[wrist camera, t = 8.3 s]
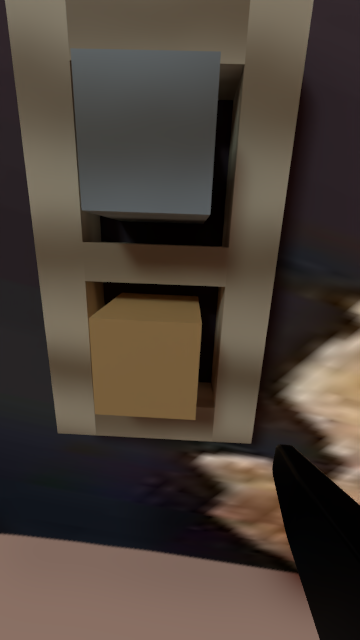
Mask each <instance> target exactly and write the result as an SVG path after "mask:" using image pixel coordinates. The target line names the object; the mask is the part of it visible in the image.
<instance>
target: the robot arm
mask: <svg viewBox="0 0 360 640" xmlns="http://www.w3.org/2000/svg"><path fill="white" fill-rule="evenodd" d="M272 470H273V477H274V482H275V486H276V491H277V495H278V500H279V504H280V509H281V513H282V518H283V522H284V527H285V531H286V535H287V538H288V542H289V545H290V548H291V551H292V555H293V558H294V561H295V564H296V567H297V570H298V573H299V576H300V579H301V582H302V585H303V588H304V592H305V595H306V598H307V601H308V604H309V607H310V610H311V613H312V616H313V620H314V623H315V626H316V629H317V632H318V635H319V638H320V640H360V505H359V504H358V503H357V502H356V501H354V500H353V499H352V498H351V497H350V496H349V495H348V494H346V493H345V492H344V491H343V490H342V489H341V488H340V487H338V486H337V485H336V484H335V483H334V482H333V481H332V480H331V479H329V478H328V477H327V476H326V475H325V474H324V473H323V472H321V471H320V470H319V469H318V468H317V467H316V466H315V465H314V464H312V463H311V462H310V461H309V460H308V459H307V458H306V457H304V456H303V455H302V454H301V453H300V452H299V451H298V450H296V449H295V448H294V447H293V446H291V445H277V447H276V450H275V456H274V461H273V469H272Z"/></svg>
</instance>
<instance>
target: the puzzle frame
mask: <svg viewBox="0 0 360 640" xmlns="http://www.w3.org/2000/svg"><path fill="white" fill-rule="evenodd" d="M313 1H314V0H5V3H6V11H7V19H8V27H9V36H10V44H11V52H12V60H13V68H14V77H15V85H16V93H17V101H18V109H19V118H20V126H21V134H22V142H23V151H24V159H25V167H26V175H27V183H28V192H29V200H30V208H31V216H32V224H33V233H34V241H35V249H36V257H37V265H38V274H39V282H40V290H41V298H42V306H43V315H44V323H45V331H46V339H47V347H48V356H49V364H50V372H51V380H52V389H53V397H54V405H55V413H56V421H57V430H58V433H65V434H83V435H101V436H120V437H138V438H156V439H175V440H193V441H211V442H230V443H248V444H251V441H252V434H253V427H254V420H255V412H256V405H257V398H258V391H259V384H260V377H261V370H262V363H263V356H264V349H265V341H266V334H267V327H268V320H269V313H270V306H271V299H272V292H273V285H274V278H275V270H276V263H277V256H278V249H279V242H280V235H281V228H282V221H283V214H284V206H285V199H286V192H287V185H288V178H289V171H290V164H291V157H292V150H293V143H294V135H295V128H296V121H297V114H298V107H299V100H300V93H301V86H302V79H303V72H304V64H305V57H306V50H307V43H308V36H309V29H310V22H311V15H312V8H313ZM218 100H233V111H232V124H231V137H230V149H229V162H228V174H227V187H226V200H225V212H224V225H223V238H222V246H198V245H171V244H145V243H118V242H101V227H100V216H104V217H107V218H111V219H114V220H118V221H129V222H157V223H185V224H203V223H204V222H205V221H206V220H207V218H208V217H209V216H210V213H211V197H212V182H213V167H214V151H215V136H216V120H217V105H218ZM103 282H121V283H145V284H169V285H194V286H218V287H219V288H218V301H217V313H216V326H215V338H214V351H213V364H212V376H211V383H207V382H198V388H197V403H196V417H195V420H185V419H168V418H151V417H133V416H116V415H99V414H95V408H94V392H93V376H92V360H91V344H90V328H89V318H90V317H91V316H92V315H93V314H95V313H96V312H97V311H99V310H100V309H101V308H103V307H104V286H103Z"/></svg>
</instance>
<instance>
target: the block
mask: <svg viewBox="0 0 360 640" xmlns="http://www.w3.org/2000/svg"><path fill="white" fill-rule="evenodd" d="M89 328H90V344H91V360H92V376H93V392H94V408H95V414H99V415H116V416H133V417H151V418H168V419H185V420H195V417H196V403H197V388H198V374H199V360H200V345H201V331H202V320H201V314H200V307H199V300H198V296H184V295H163V294H142V293H121V294H120V295H118V296H117V297H116V298H114V299H113V300H112V301H110V302H109V303H108V304H107V305H105V306H104V307H103V308H101V309H100V310H99V311H97V312H96V313H95V314H93V315H92V316H91V317H90V318H89Z"/></svg>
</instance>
